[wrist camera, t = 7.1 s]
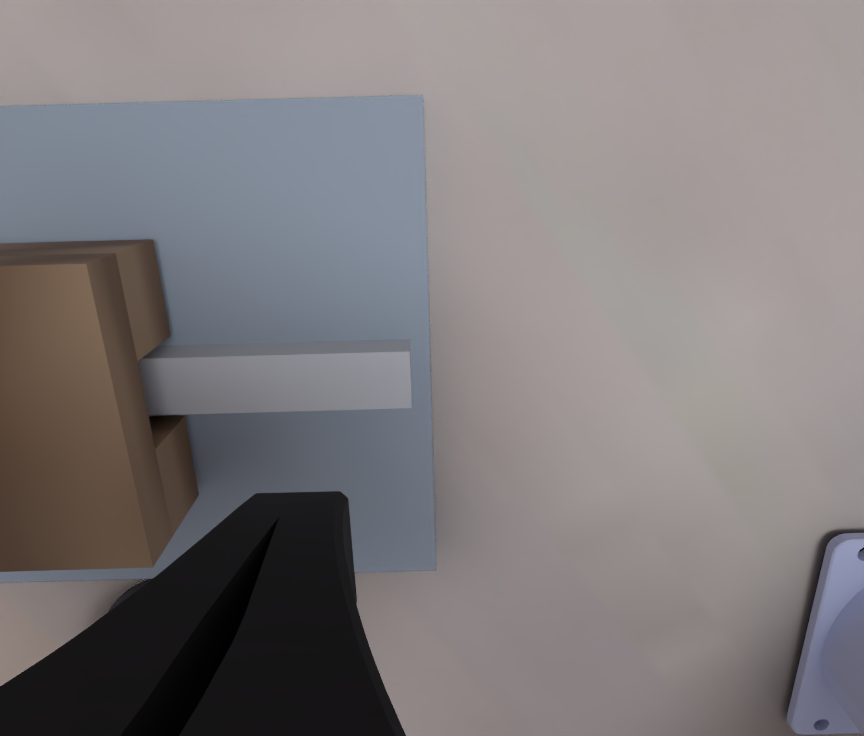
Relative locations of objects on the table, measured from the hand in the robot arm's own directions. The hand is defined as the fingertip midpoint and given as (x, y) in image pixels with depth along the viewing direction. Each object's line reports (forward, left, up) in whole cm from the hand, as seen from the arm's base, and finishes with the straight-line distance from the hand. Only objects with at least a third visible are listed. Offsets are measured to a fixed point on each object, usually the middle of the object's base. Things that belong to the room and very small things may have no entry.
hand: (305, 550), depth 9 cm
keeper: (+7, 0, -7) cm, 10 cm away
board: (+5, 0, -8) cm, 10 cm away
